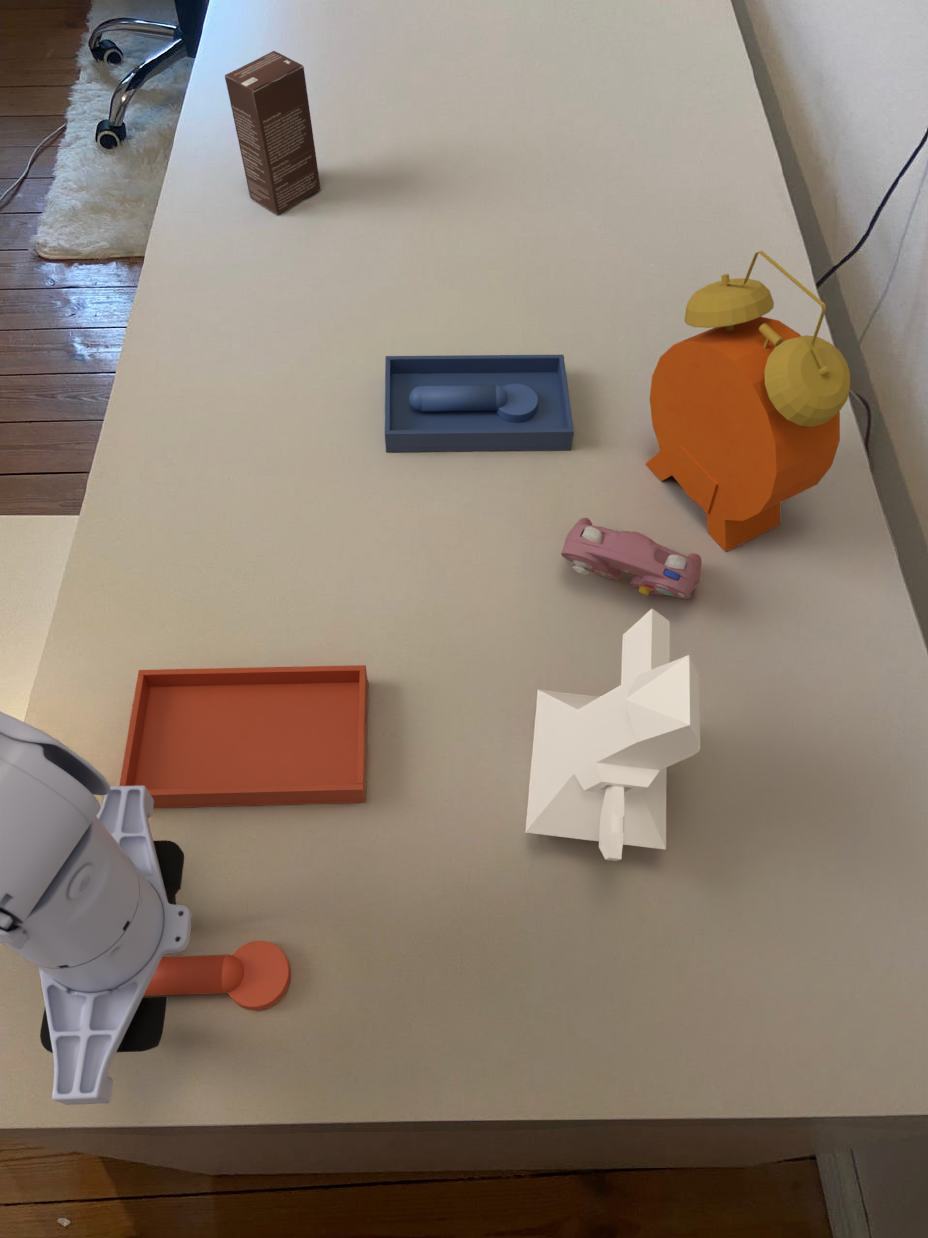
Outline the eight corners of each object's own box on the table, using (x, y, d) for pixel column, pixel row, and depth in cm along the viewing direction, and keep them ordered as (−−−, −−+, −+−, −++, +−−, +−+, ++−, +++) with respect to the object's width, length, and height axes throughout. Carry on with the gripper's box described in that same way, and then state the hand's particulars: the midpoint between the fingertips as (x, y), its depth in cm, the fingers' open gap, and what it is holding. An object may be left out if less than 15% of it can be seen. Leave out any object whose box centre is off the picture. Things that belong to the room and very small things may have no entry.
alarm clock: (800, 535, 73) (908, 324, 56) (737, 568, 71) (829, 359, 54) (691, 424, 79) (760, 203, 62) (631, 451, 77) (685, 231, 60)
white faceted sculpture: (517, 890, 58) (538, 801, 46) (535, 686, 65) (557, 567, 54) (658, 907, 57) (714, 823, 46) (660, 701, 65) (708, 584, 53)
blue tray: (385, 452, 77) (384, 433, 75) (386, 374, 81) (385, 355, 80) (571, 450, 77) (574, 431, 75) (560, 373, 82) (563, 354, 80)
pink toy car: (557, 576, 72) (551, 557, 65) (577, 519, 73) (574, 495, 66) (685, 619, 70) (693, 604, 64) (705, 560, 71) (715, 540, 64)
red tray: (126, 809, 60) (117, 796, 58) (146, 685, 65) (138, 669, 63) (365, 802, 60) (363, 789, 59) (367, 680, 65) (365, 664, 63)
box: (291, 172, 97) (274, 47, 87) (321, 191, 95) (308, 65, 85) (245, 197, 94) (221, 72, 84) (275, 217, 93) (255, 91, 83)
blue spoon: (409, 423, 78) (408, 405, 76) (409, 392, 80) (408, 373, 78) (539, 422, 78) (541, 404, 76) (535, 390, 80) (537, 372, 78)
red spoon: (98, 1016, 53) (87, 1008, 52) (108, 949, 55) (98, 940, 54) (289, 1009, 54) (284, 1002, 52) (292, 943, 56) (288, 934, 54)
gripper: (141, 1081, 38) (210, 1118, 49) (185, 746, 46) (235, 845, 57) (-41, 1088, 38) (70, 1124, 49) (35, 750, 46) (115, 848, 57)
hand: (150, 974), depth 53 cm, fingers open, 5 cm apart
